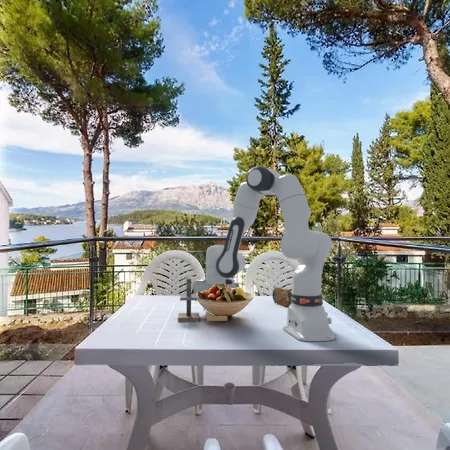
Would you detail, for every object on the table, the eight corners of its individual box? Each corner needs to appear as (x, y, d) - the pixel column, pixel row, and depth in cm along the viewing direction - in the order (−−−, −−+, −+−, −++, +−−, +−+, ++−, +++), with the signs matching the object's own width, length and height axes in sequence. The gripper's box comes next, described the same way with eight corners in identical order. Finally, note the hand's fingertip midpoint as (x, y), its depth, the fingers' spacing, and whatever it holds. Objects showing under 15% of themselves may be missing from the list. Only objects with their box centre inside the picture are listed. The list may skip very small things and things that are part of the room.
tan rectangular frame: (227, 320, 164) (227, 316, 164) (206, 321, 163) (206, 316, 163) (224, 312, 178) (224, 308, 178) (205, 312, 177) (205, 308, 177)
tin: (271, 302, 200) (271, 286, 200) (276, 301, 202) (277, 285, 202) (288, 308, 187) (288, 291, 187) (293, 307, 188) (293, 290, 188)
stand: (199, 321, 163) (199, 280, 162) (177, 321, 162) (177, 280, 162) (199, 315, 172) (199, 277, 171) (178, 316, 171) (178, 277, 171)
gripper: (192, 281, 171) (192, 312, 171) (238, 280, 172) (238, 311, 172) (192, 279, 177) (192, 308, 177) (236, 278, 178) (236, 308, 179)
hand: (215, 310), depth 175 cm, fingers open, 8 cm apart
